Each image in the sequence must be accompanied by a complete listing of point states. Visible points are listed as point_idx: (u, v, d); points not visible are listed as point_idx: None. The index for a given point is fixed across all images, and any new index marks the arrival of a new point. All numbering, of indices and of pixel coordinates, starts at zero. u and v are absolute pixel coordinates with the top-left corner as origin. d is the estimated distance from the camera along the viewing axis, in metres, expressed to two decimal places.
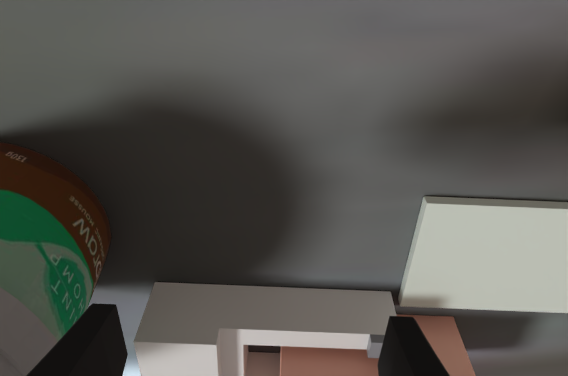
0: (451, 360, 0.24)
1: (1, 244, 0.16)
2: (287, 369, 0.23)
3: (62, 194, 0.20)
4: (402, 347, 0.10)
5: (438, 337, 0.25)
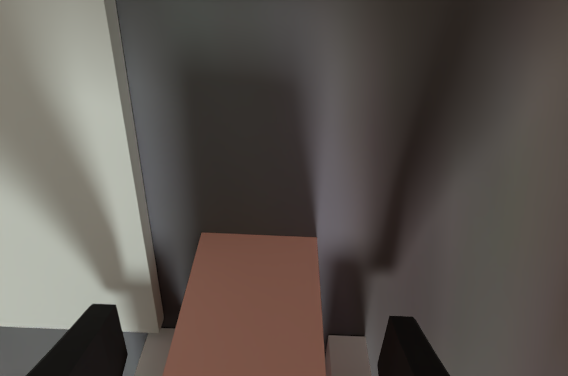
0: None
1: None
2: None
3: None
4: (402, 347, 0.10)
5: None
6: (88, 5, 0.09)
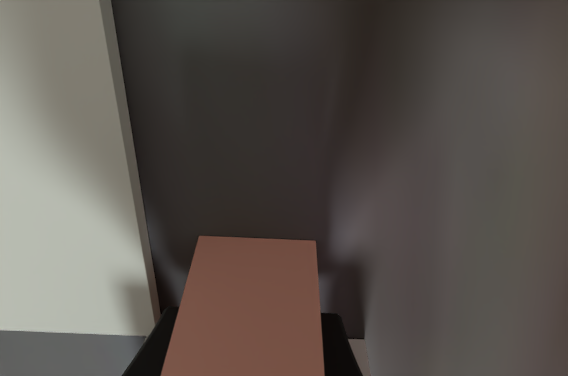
0: None
1: None
2: None
3: None
4: None
5: None
6: (82, 5, 0.08)
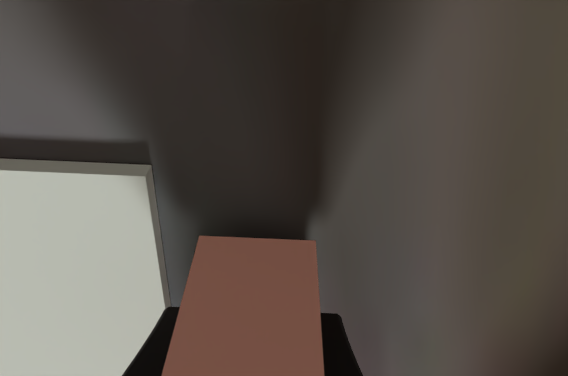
0: None
1: None
2: None
3: None
4: None
5: None
6: (149, 272, 0.14)
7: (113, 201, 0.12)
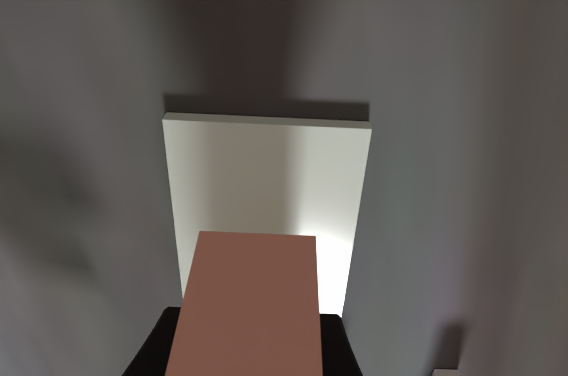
0: None
1: None
2: None
3: None
4: None
5: None
6: (349, 212, 0.17)
7: (339, 150, 0.16)
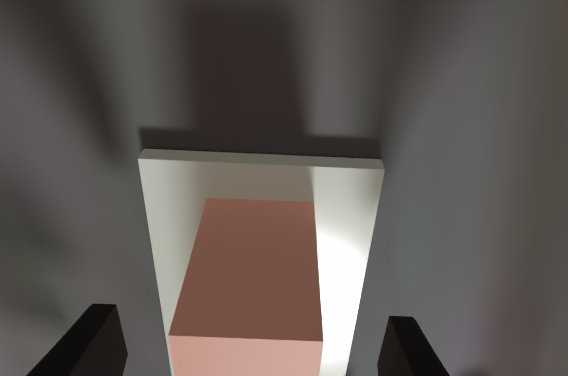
0: None
1: None
2: None
3: None
4: (402, 347, 0.10)
5: None
6: (357, 260, 0.15)
7: (346, 193, 0.13)
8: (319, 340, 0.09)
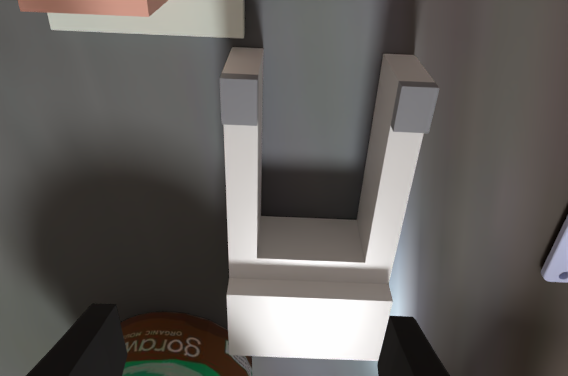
0: None
1: None
2: None
3: None
4: (402, 347, 0.10)
5: None
6: None
7: None
8: None
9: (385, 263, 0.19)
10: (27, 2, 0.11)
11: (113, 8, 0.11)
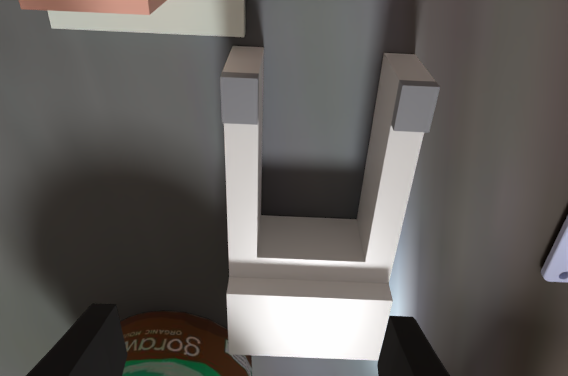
0: None
1: None
2: None
3: None
4: (402, 347, 0.10)
5: None
6: None
7: None
8: None
9: (385, 262, 0.19)
10: (28, 0, 0.11)
11: (114, 6, 0.11)
